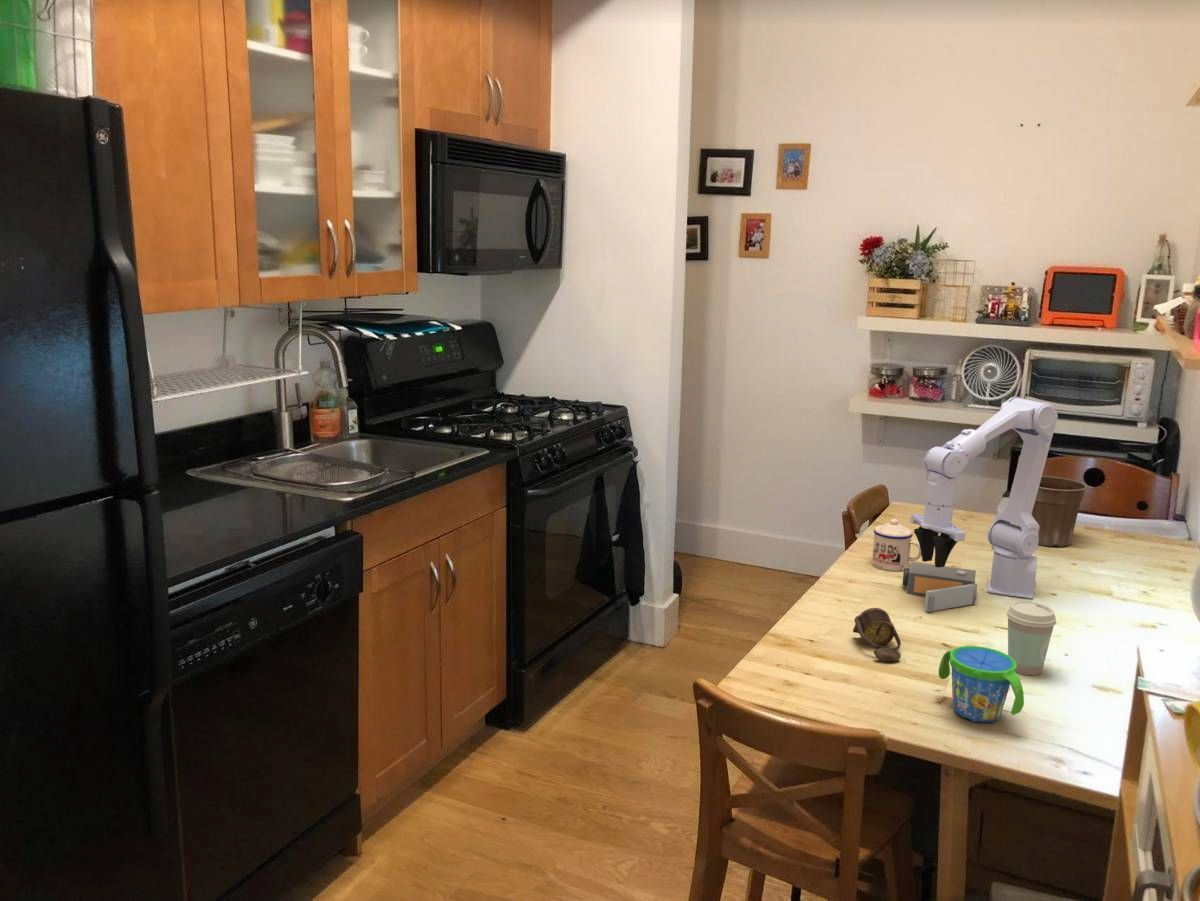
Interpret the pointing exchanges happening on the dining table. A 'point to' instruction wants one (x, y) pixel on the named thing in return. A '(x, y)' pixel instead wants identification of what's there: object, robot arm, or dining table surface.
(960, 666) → the snack cup
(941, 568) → the camera body
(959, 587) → the grey long bar
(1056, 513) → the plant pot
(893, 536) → the teacup with lid
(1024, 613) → the coffee cup
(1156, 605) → the dining table surface
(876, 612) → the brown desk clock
